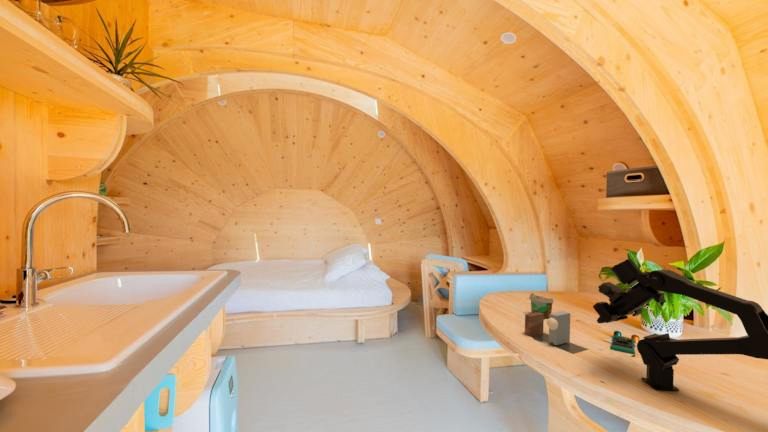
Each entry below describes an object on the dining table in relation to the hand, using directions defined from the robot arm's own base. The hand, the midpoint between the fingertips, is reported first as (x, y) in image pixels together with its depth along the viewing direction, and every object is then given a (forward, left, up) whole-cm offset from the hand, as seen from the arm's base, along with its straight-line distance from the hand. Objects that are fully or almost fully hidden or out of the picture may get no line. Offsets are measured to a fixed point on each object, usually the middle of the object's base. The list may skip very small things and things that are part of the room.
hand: (599, 321), depth 116 cm
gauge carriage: (+12, +9, -12) cm, 20 cm away
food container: (+49, +3, -14) cm, 51 cm away
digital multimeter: (+13, -15, -14) cm, 25 cm away
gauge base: (+14, +10, -14) cm, 22 cm away
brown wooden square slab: (+22, +14, -14) cm, 29 cm away
